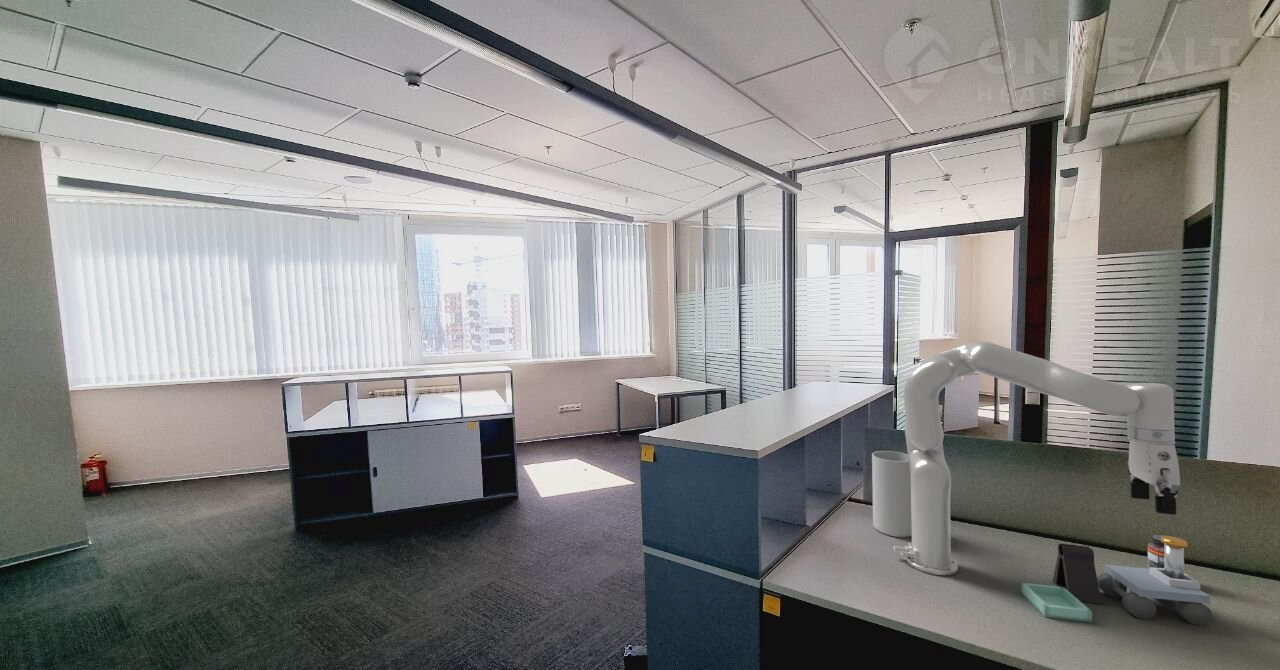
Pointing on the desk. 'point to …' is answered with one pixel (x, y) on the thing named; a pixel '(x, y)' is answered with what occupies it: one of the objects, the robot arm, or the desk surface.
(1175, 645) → the desk surface
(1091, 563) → the phone stand
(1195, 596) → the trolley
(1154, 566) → the supplement bottle
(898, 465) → the cylinder vase
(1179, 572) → the pin
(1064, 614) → the tray
